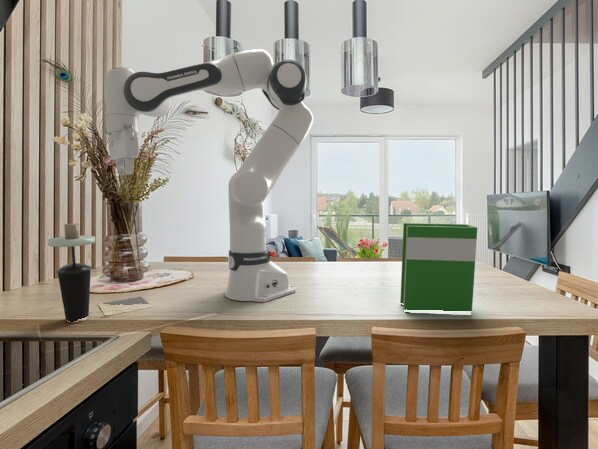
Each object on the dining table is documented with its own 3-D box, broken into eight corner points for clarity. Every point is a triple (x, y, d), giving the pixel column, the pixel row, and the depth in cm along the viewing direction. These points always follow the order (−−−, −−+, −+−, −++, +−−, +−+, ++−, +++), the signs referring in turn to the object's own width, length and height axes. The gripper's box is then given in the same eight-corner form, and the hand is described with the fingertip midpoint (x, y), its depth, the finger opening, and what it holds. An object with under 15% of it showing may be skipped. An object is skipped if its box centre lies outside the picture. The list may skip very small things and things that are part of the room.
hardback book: (404, 313, 103) (408, 226, 100) (400, 304, 110) (403, 223, 108) (471, 316, 101) (477, 227, 98) (462, 307, 108) (468, 224, 106)
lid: (91, 238, 100) (90, 221, 99) (99, 244, 92) (98, 224, 91) (46, 242, 94) (45, 223, 93) (50, 248, 86) (48, 228, 85)
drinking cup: (79, 328, 91) (73, 246, 88) (52, 325, 92) (46, 245, 90) (101, 317, 98) (97, 241, 96) (76, 314, 100) (71, 240, 97)
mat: (141, 298, 114) (141, 296, 114) (153, 309, 105) (153, 307, 104) (96, 305, 107) (96, 304, 107) (105, 318, 97) (105, 316, 97)
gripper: (144, 123, 104) (146, 174, 105) (125, 131, 120) (127, 174, 121) (119, 121, 100) (121, 174, 101) (103, 129, 116) (106, 174, 118)
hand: (124, 174), depth 112 cm, fingers open, 8 cm apart
